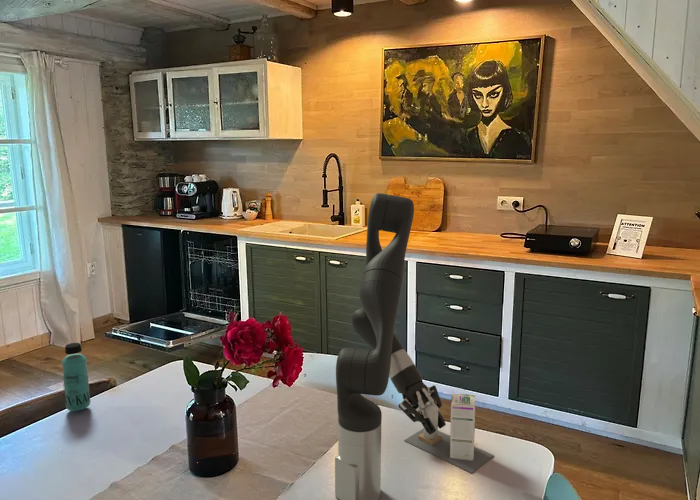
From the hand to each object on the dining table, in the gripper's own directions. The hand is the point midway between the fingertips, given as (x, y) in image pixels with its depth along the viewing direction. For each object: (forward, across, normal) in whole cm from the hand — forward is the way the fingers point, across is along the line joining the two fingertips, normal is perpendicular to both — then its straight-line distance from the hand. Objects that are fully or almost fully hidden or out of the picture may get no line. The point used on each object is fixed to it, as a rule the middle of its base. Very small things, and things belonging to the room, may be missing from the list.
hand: (437, 429), depth 139 cm
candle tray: (+5, 0, 0) cm, 5 cm away
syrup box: (+8, 0, -2) cm, 8 cm away
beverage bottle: (-56, -58, +62) cm, 101 cm away
